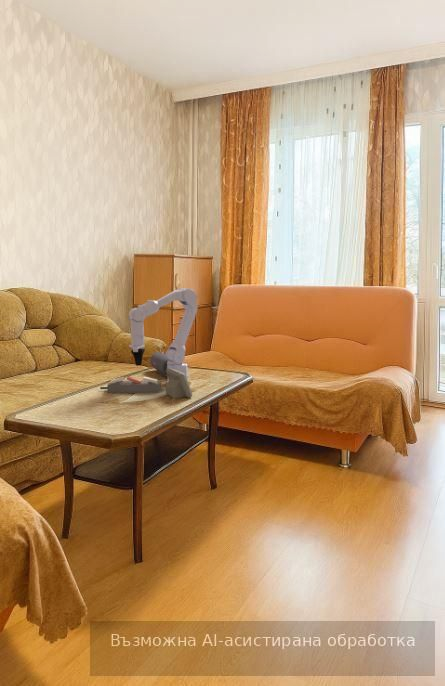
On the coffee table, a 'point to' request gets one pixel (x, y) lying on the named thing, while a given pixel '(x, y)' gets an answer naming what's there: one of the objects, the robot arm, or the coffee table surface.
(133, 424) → the coffee table surface
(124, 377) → the rocker
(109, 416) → the coffee table surface
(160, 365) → the bluetooth speaker
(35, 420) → the coffee table surface
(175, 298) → the robot arm
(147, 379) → the block
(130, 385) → the power strip
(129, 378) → the plate
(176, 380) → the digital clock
